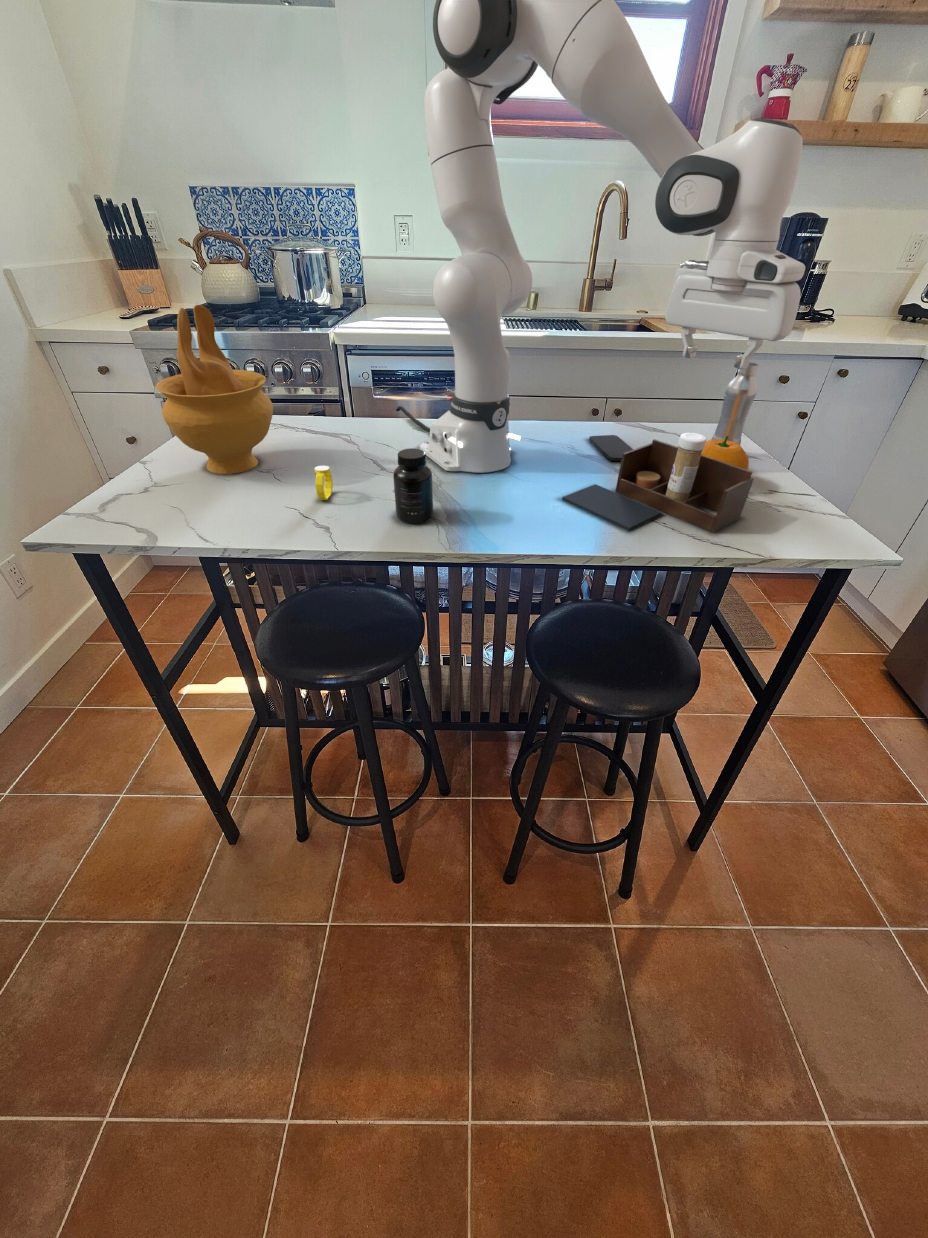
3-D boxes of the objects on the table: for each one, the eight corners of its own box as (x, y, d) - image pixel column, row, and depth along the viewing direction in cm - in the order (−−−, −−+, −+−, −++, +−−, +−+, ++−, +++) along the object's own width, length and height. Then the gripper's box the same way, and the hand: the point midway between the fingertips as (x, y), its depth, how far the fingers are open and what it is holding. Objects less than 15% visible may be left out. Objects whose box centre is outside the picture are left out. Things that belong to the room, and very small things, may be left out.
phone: (616, 434, 136) (642, 456, 124) (615, 438, 136) (641, 460, 124) (587, 435, 134) (611, 458, 123) (587, 439, 135) (610, 461, 123)
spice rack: (615, 491, 111) (623, 448, 106) (642, 480, 116) (651, 438, 110) (713, 533, 98) (729, 485, 92) (739, 518, 103) (756, 472, 97)
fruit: (692, 468, 122) (705, 422, 115) (747, 481, 116) (764, 434, 110) (674, 485, 114) (687, 437, 108) (733, 500, 109) (750, 451, 103)
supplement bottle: (398, 507, 104) (394, 445, 96) (434, 508, 104) (433, 446, 96) (393, 524, 98) (389, 459, 91) (431, 525, 98) (430, 461, 91)
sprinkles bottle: (659, 499, 108) (676, 431, 100) (681, 499, 109) (700, 431, 101) (668, 510, 105) (687, 440, 97) (691, 509, 105) (711, 440, 97)
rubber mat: (562, 499, 108) (562, 496, 107) (594, 486, 113) (595, 484, 112) (628, 530, 98) (629, 527, 98) (661, 515, 103) (662, 512, 103)
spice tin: (628, 491, 111) (631, 474, 109) (641, 485, 114) (645, 468, 111) (647, 499, 109) (651, 482, 106) (660, 493, 111) (665, 476, 109)
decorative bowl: (243, 490, 108) (201, 320, 90) (157, 475, 113) (101, 311, 95) (301, 454, 124) (276, 302, 106) (223, 441, 129) (186, 295, 111)
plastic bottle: (742, 457, 127) (773, 365, 115) (724, 463, 124) (754, 369, 112) (718, 449, 131) (745, 358, 119) (700, 454, 128) (726, 362, 116)
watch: (328, 504, 104) (324, 474, 101) (314, 503, 104) (309, 474, 101) (337, 491, 109) (333, 462, 105) (323, 490, 109) (319, 461, 105)
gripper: (668, 259, 87) (649, 354, 96) (796, 269, 75) (762, 377, 83) (690, 257, 90) (670, 349, 99) (817, 267, 78) (782, 371, 86)
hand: (713, 362), depth 91 cm, fingers open, 8 cm apart
